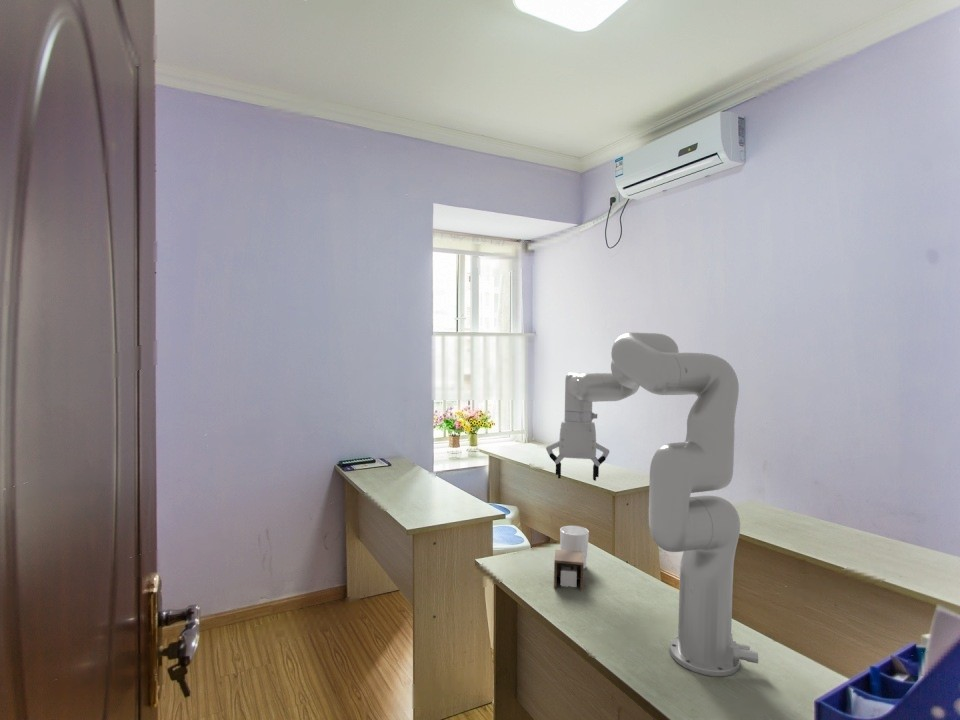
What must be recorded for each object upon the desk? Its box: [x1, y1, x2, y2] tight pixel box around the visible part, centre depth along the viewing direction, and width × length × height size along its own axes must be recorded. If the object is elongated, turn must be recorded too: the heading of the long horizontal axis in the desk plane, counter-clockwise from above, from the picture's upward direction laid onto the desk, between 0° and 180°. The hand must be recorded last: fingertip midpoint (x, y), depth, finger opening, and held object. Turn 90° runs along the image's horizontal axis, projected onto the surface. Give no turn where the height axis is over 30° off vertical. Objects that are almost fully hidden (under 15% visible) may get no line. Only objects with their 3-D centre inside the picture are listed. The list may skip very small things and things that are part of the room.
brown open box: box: [553, 549, 585, 592], centre depth 136 cm, size 7×7×7 cm
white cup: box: [559, 525, 590, 570], centre depth 147 cm, size 8×8×10 cm
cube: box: [560, 564, 578, 588], centre depth 136 cm, size 4×4×4 cm
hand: (576, 478), depth 147 cm, fingers open, 9 cm apart
